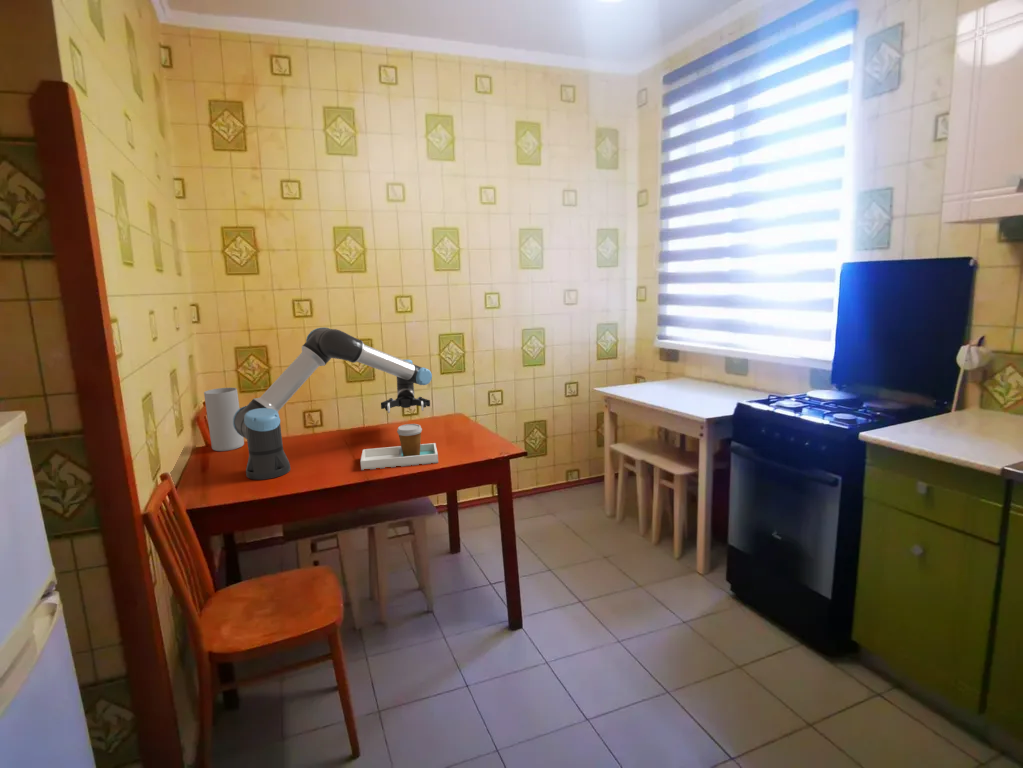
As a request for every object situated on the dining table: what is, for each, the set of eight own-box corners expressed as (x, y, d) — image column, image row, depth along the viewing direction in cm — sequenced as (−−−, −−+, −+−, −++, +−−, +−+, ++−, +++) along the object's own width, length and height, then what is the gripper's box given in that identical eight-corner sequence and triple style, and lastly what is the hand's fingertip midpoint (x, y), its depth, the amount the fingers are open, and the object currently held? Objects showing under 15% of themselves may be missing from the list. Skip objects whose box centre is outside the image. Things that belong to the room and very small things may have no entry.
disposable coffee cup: (416, 461, 212) (414, 431, 209) (394, 459, 215) (392, 429, 212) (428, 453, 220) (426, 424, 218) (406, 451, 224) (404, 422, 221)
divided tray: (361, 470, 207) (360, 461, 206) (363, 457, 221) (362, 449, 220) (438, 462, 212) (437, 454, 211) (435, 451, 226) (435, 443, 225)
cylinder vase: (235, 451, 235) (227, 393, 230) (206, 452, 235) (197, 394, 231) (249, 442, 247) (242, 387, 242) (222, 443, 248) (214, 388, 243)
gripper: (434, 404, 250) (436, 415, 229) (377, 407, 246) (374, 419, 225) (433, 388, 249) (436, 397, 228) (376, 391, 244) (373, 401, 224)
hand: (405, 408), depth 226 cm, fingers open, 13 cm apart
